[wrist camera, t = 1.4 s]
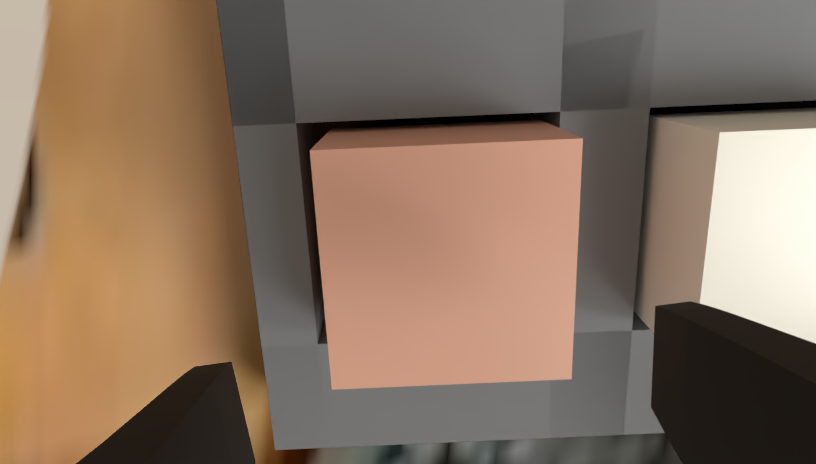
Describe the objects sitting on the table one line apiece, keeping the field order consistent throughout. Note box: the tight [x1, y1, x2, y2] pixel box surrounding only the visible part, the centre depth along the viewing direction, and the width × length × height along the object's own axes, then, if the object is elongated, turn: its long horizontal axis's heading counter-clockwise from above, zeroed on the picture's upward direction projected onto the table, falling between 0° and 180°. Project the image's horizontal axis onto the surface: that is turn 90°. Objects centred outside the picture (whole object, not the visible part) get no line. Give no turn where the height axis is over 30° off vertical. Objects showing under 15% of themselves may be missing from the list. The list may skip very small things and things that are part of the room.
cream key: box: [634, 107, 816, 343], centre depth 15 cm, size 6×6×4 cm
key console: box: [216, 0, 816, 450], centre depth 18 cm, size 20×14×3 cm
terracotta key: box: [310, 120, 583, 390], centre depth 15 cm, size 6×6×4 cm
